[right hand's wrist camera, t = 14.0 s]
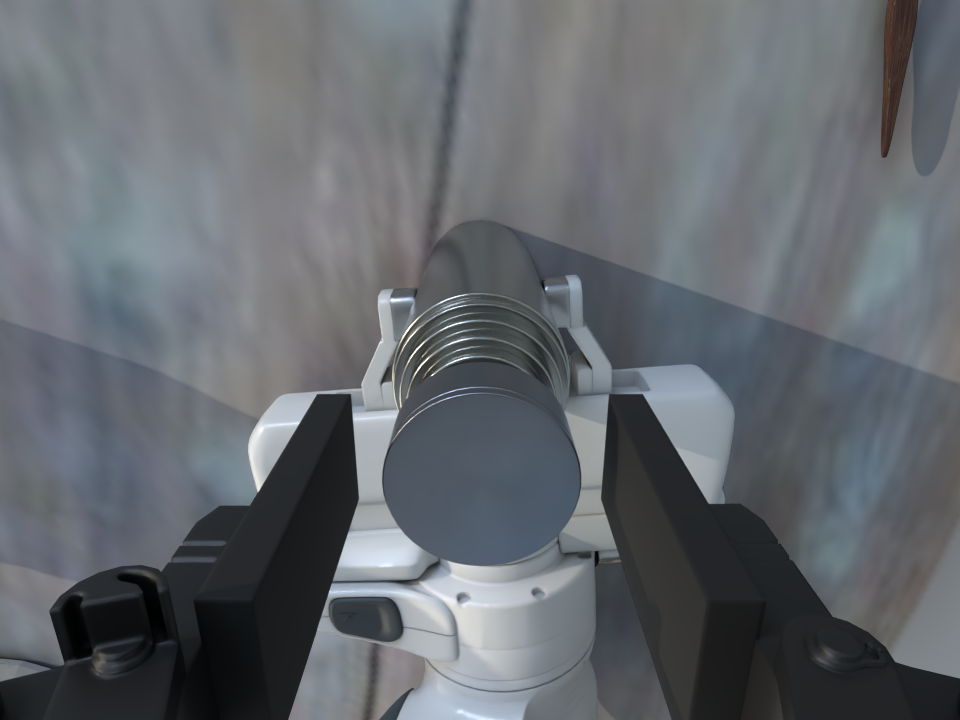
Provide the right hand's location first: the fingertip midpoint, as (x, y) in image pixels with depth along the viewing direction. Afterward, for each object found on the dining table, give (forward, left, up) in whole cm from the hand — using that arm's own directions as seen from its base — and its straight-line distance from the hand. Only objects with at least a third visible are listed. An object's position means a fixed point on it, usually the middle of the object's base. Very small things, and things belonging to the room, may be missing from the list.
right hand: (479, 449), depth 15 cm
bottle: (0, 0, -18) cm, 18 cm away
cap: (0, 0, +1) cm, 1 cm away
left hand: (0, -1, -12) cm, 12 cm away
